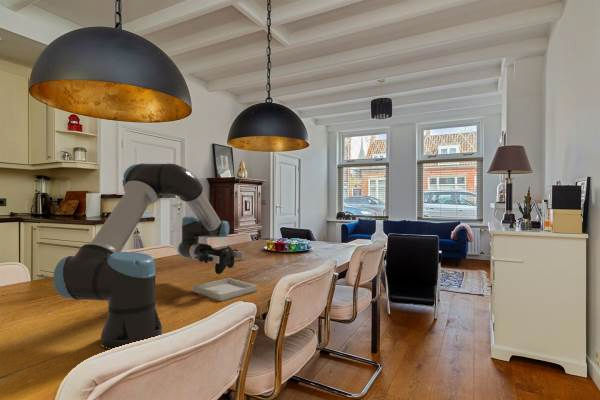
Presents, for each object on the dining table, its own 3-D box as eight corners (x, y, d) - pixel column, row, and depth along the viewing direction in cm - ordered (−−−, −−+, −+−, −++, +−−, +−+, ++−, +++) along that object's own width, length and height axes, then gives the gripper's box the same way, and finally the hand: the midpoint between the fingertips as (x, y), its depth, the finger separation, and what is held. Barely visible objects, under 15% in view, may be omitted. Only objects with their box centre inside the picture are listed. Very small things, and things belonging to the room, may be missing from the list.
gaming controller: (225, 275, 131) (225, 250, 131) (211, 274, 132) (211, 249, 132) (238, 268, 145) (238, 245, 145) (225, 267, 146) (225, 244, 146)
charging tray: (220, 301, 126) (220, 294, 126) (193, 291, 138) (193, 285, 138) (257, 291, 139) (257, 285, 139) (229, 283, 152) (229, 278, 152)
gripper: (223, 256, 160) (253, 262, 145) (176, 264, 142) (205, 271, 127) (223, 241, 160) (253, 245, 145) (176, 246, 142) (205, 252, 127)
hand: (231, 257), depth 136 cm, fingers closed on gaming controller, 12 cm apart
